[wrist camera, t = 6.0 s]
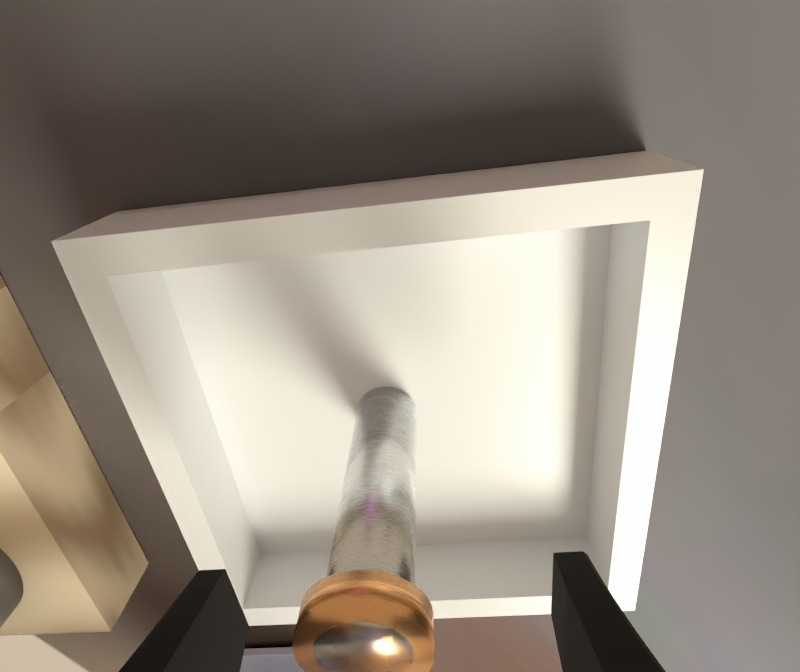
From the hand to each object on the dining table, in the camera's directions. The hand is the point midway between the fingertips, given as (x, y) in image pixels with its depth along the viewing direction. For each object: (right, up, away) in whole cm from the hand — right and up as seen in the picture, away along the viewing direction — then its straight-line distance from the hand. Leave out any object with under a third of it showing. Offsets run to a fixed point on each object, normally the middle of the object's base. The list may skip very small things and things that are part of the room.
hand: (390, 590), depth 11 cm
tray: (0, +3, +6) cm, 7 cm away
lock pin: (0, +3, +6) cm, 7 cm away
